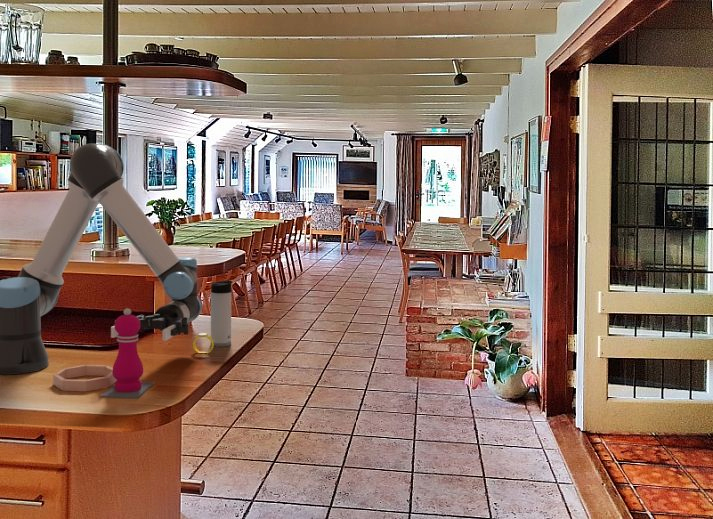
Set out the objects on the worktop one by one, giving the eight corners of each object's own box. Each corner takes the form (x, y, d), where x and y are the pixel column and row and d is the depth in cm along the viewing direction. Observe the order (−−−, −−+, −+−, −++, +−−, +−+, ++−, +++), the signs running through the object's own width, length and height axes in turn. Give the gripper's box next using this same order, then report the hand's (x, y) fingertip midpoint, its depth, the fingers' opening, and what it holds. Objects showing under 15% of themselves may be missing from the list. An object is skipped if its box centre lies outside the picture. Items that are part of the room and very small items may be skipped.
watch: (192, 355, 207) (191, 335, 206) (195, 352, 210) (193, 333, 209) (212, 354, 207) (211, 334, 206) (215, 352, 210) (213, 332, 209)
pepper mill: (126, 382, 176) (125, 304, 174) (149, 386, 174) (149, 307, 171) (106, 390, 170) (104, 309, 167) (130, 394, 167) (129, 312, 165)
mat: (100, 397, 166) (100, 395, 166) (118, 382, 178) (118, 380, 178) (138, 398, 166) (138, 397, 166) (154, 383, 178) (154, 382, 178)
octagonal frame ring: (45, 389, 170) (45, 379, 170) (70, 373, 184) (70, 364, 184) (102, 391, 170) (102, 381, 170) (123, 375, 184) (123, 366, 184)
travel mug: (234, 345, 218) (235, 282, 216) (214, 347, 215) (214, 283, 212) (228, 341, 224) (228, 279, 221) (208, 343, 220) (208, 280, 218)
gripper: (214, 332, 196) (185, 351, 175) (129, 327, 199) (91, 345, 178) (214, 306, 195) (185, 322, 174) (129, 301, 198) (90, 316, 177)
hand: (137, 334), depth 176 cm, fingers open, 13 cm apart
